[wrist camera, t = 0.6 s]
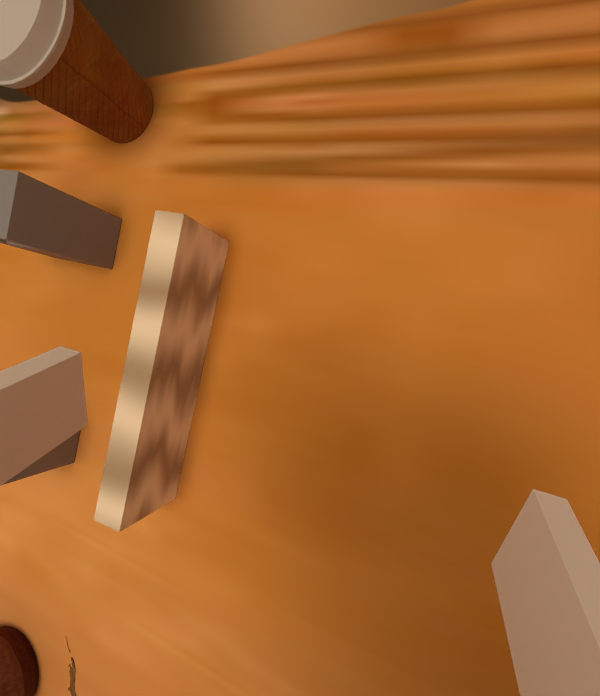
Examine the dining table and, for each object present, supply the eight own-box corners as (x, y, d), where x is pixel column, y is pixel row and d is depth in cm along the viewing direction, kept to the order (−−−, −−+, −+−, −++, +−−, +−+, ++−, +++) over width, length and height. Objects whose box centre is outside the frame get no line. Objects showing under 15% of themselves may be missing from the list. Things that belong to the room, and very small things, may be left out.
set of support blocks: (74, 462, 38) (-41, 498, 28) (18, 439, 40) (-105, 465, 31) (121, 219, 37) (18, 171, 27) (61, 209, 39) (-53, 163, 30)
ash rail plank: (176, 497, 35) (119, 531, 28) (154, 488, 35) (93, 520, 29) (230, 242, 33) (184, 213, 27) (206, 238, 34) (155, 210, 27)
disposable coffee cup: (79, 96, 39) (-63, -14, 27) (151, 43, 36) (28, -102, 25) (103, 176, 38) (-35, 98, 26) (179, 128, 35) (64, 18, 23)
